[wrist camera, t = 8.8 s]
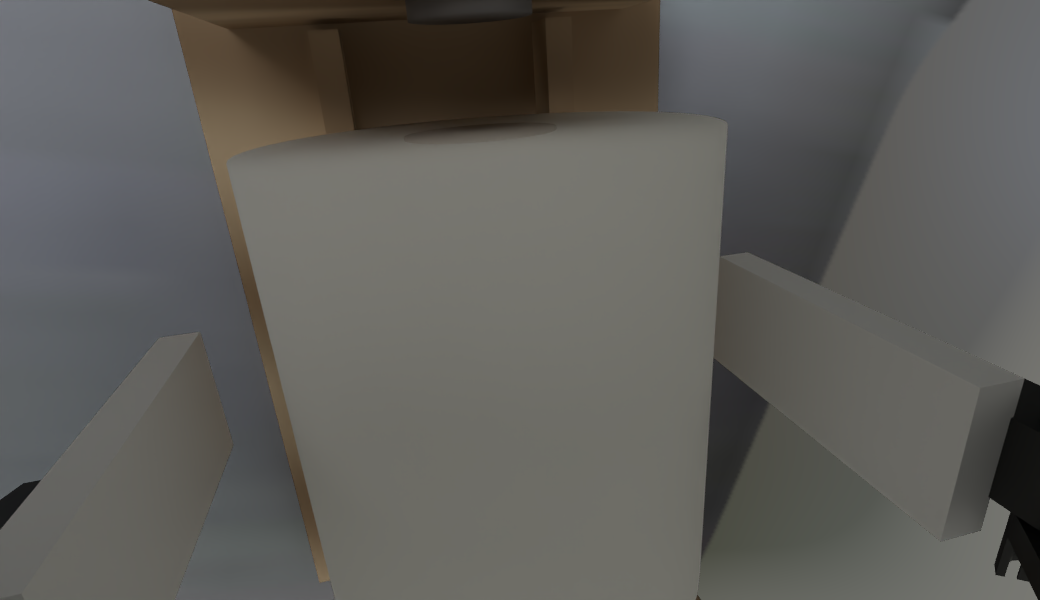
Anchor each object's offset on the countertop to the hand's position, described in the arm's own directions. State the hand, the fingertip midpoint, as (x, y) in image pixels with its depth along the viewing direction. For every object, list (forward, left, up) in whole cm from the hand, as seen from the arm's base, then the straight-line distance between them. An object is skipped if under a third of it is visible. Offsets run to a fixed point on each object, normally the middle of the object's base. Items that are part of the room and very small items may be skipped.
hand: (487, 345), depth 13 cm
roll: (0, 0, -2) cm, 2 cm away
